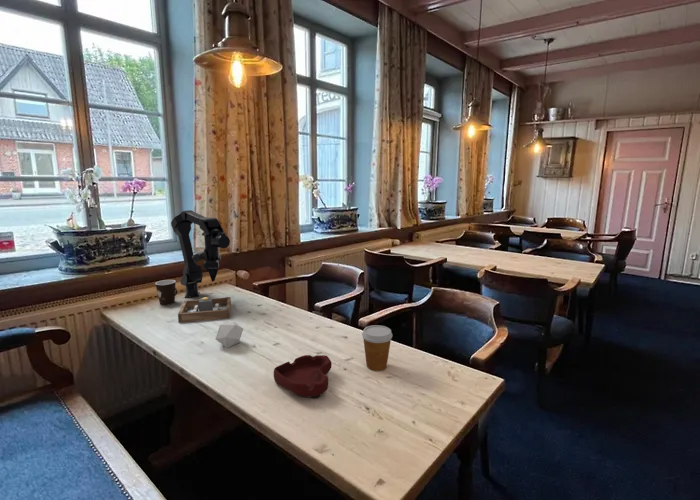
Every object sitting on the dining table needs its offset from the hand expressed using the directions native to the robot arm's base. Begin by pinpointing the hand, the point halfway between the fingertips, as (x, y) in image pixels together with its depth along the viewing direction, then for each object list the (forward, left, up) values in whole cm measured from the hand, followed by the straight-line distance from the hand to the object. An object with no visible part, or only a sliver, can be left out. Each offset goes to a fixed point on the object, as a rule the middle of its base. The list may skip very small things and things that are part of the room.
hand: (213, 278), depth 176 cm
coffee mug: (-6, -22, -12) cm, 25 cm away
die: (+48, +8, -12) cm, 50 cm away
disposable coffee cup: (+77, +53, -12) cm, 94 cm away
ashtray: (+81, +29, -12) cm, 87 cm away
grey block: (+12, -3, -12) cm, 17 cm away
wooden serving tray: (+12, -3, -12) cm, 17 cm away
